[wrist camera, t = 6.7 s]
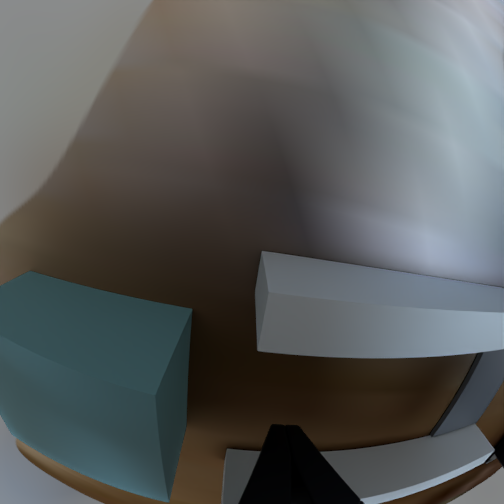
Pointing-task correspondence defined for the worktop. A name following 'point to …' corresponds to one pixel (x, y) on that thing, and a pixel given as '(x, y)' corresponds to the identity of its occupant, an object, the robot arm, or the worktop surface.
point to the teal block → (96, 380)
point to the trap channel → (383, 346)
